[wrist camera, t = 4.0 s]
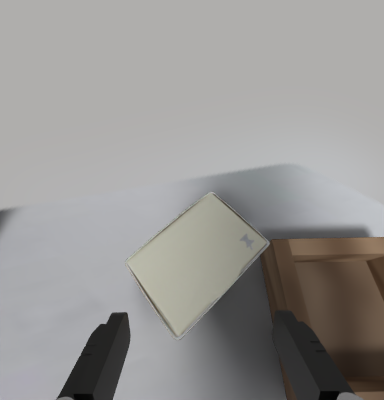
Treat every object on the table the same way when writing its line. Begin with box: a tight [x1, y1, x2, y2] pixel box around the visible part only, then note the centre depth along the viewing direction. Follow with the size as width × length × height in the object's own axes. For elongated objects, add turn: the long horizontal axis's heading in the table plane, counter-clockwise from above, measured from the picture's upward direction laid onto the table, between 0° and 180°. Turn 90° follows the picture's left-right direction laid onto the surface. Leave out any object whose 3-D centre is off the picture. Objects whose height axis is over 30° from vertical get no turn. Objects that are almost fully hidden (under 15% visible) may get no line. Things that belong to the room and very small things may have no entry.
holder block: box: [260, 237, 384, 400], centre depth 17 cm, size 12×12×4 cm
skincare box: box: [125, 192, 270, 340], centre depth 15 cm, size 6×4×12 cm
